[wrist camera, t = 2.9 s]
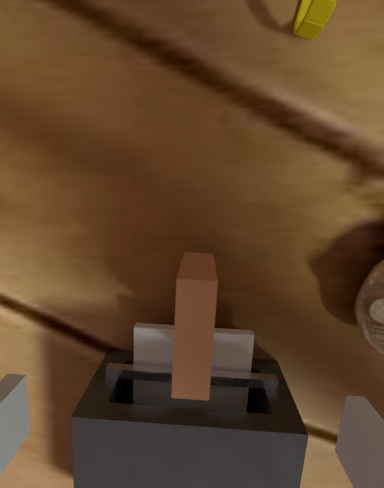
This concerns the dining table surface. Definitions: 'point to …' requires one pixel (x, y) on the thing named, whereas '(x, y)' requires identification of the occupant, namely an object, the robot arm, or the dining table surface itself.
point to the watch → (312, 17)
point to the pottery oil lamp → (372, 308)
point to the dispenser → (186, 433)
